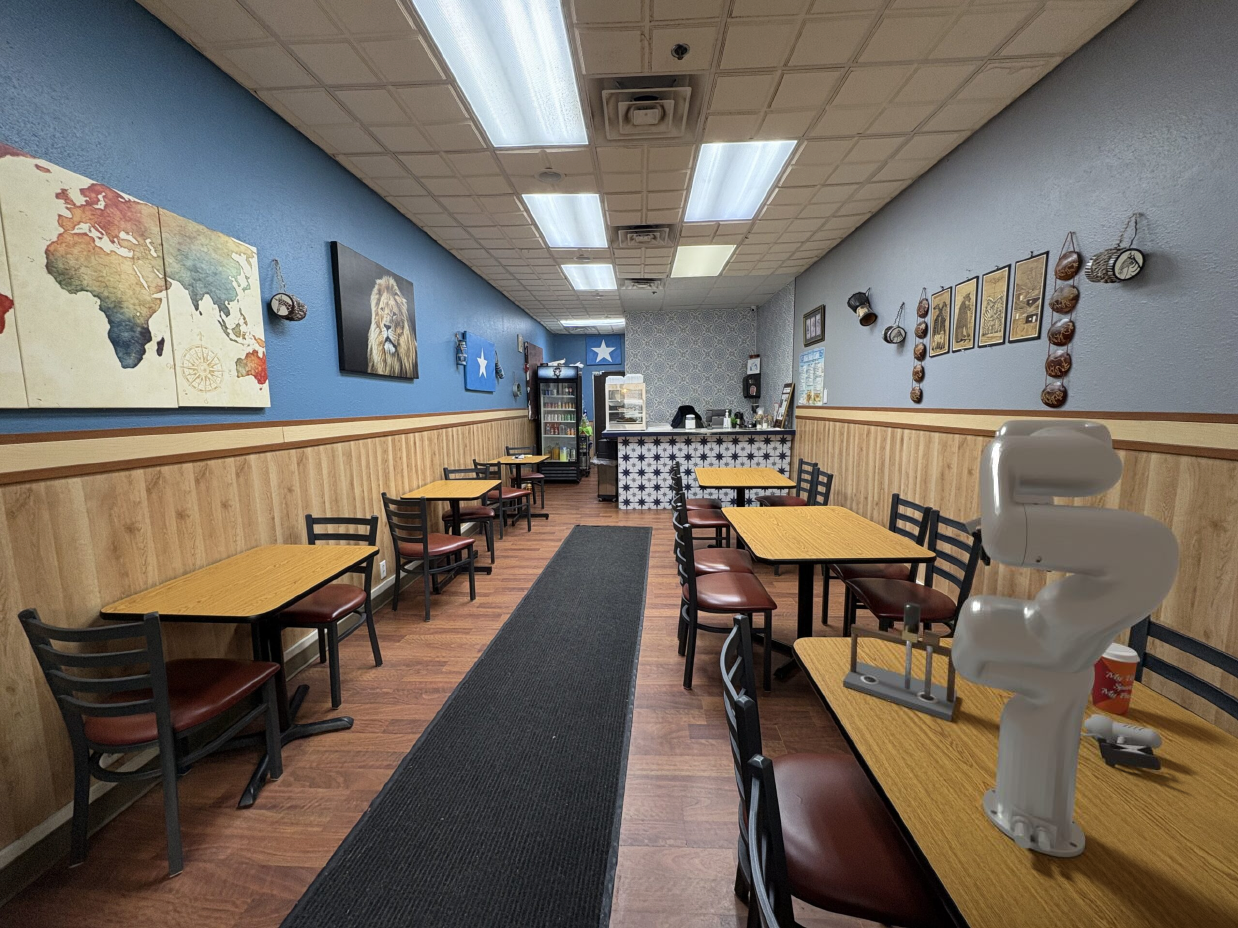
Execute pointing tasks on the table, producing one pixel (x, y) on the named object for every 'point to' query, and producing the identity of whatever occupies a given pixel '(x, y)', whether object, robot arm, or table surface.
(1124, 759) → the clip-on lamp
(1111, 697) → the paper cup
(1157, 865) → the table surface
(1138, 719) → the table surface
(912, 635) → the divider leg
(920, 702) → the hole plate
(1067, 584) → the robot arm
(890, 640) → the divider frame
